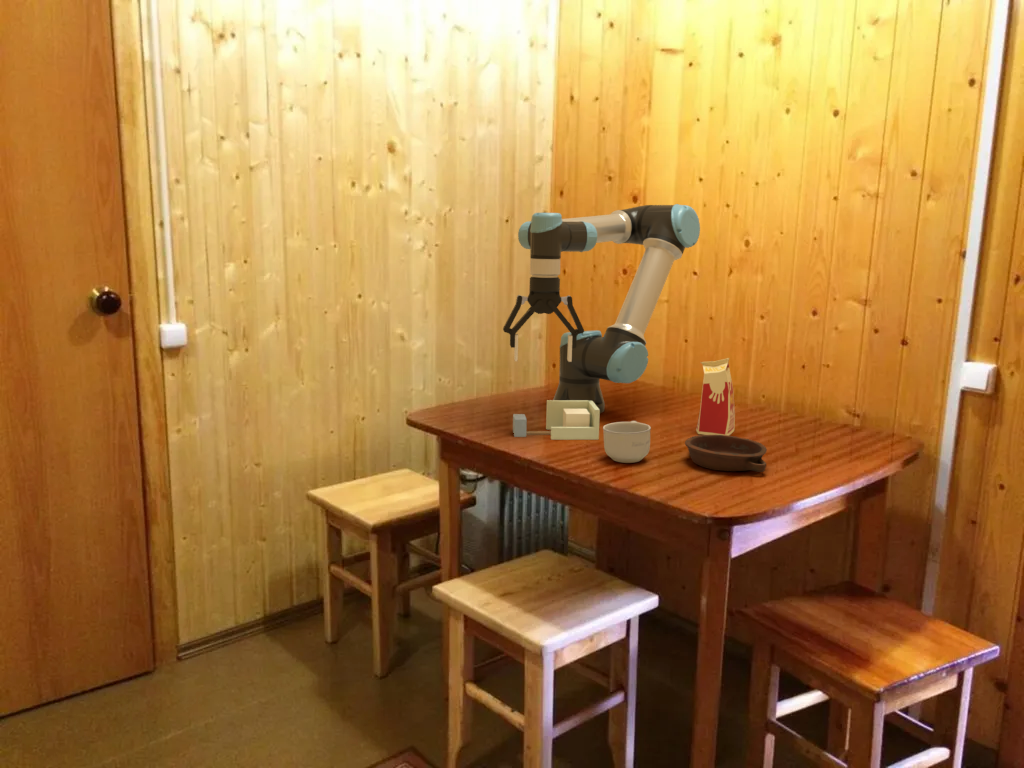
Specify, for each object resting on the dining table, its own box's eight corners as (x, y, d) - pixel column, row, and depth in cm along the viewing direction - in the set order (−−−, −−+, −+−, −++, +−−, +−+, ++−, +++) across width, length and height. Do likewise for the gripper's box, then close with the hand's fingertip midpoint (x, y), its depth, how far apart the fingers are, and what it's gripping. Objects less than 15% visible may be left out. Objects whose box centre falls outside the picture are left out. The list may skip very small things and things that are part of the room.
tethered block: (585, 431, 211) (586, 408, 210) (588, 436, 205) (589, 413, 204) (512, 430, 210) (513, 408, 209) (514, 436, 204) (514, 413, 203)
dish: (734, 484, 170) (736, 461, 169) (661, 458, 188) (662, 437, 187) (788, 471, 180) (790, 450, 179) (714, 448, 198) (715, 428, 197)
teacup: (637, 469, 179) (639, 434, 177) (593, 461, 184) (595, 426, 183) (661, 455, 190) (663, 422, 189) (619, 447, 196) (620, 415, 194)
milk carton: (734, 430, 215) (739, 356, 211) (728, 438, 207) (733, 361, 203) (700, 426, 219) (704, 353, 215) (692, 433, 211) (697, 358, 207)
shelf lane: (591, 428, 214) (592, 400, 213) (598, 439, 203) (599, 410, 201) (546, 428, 213) (546, 400, 212) (551, 439, 202) (552, 409, 201)
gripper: (592, 275, 205) (589, 358, 209) (494, 274, 203) (492, 357, 207) (597, 277, 198) (593, 363, 202) (495, 276, 196) (494, 362, 200)
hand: (542, 360), depth 204 cm, fingers open, 13 cm apart
